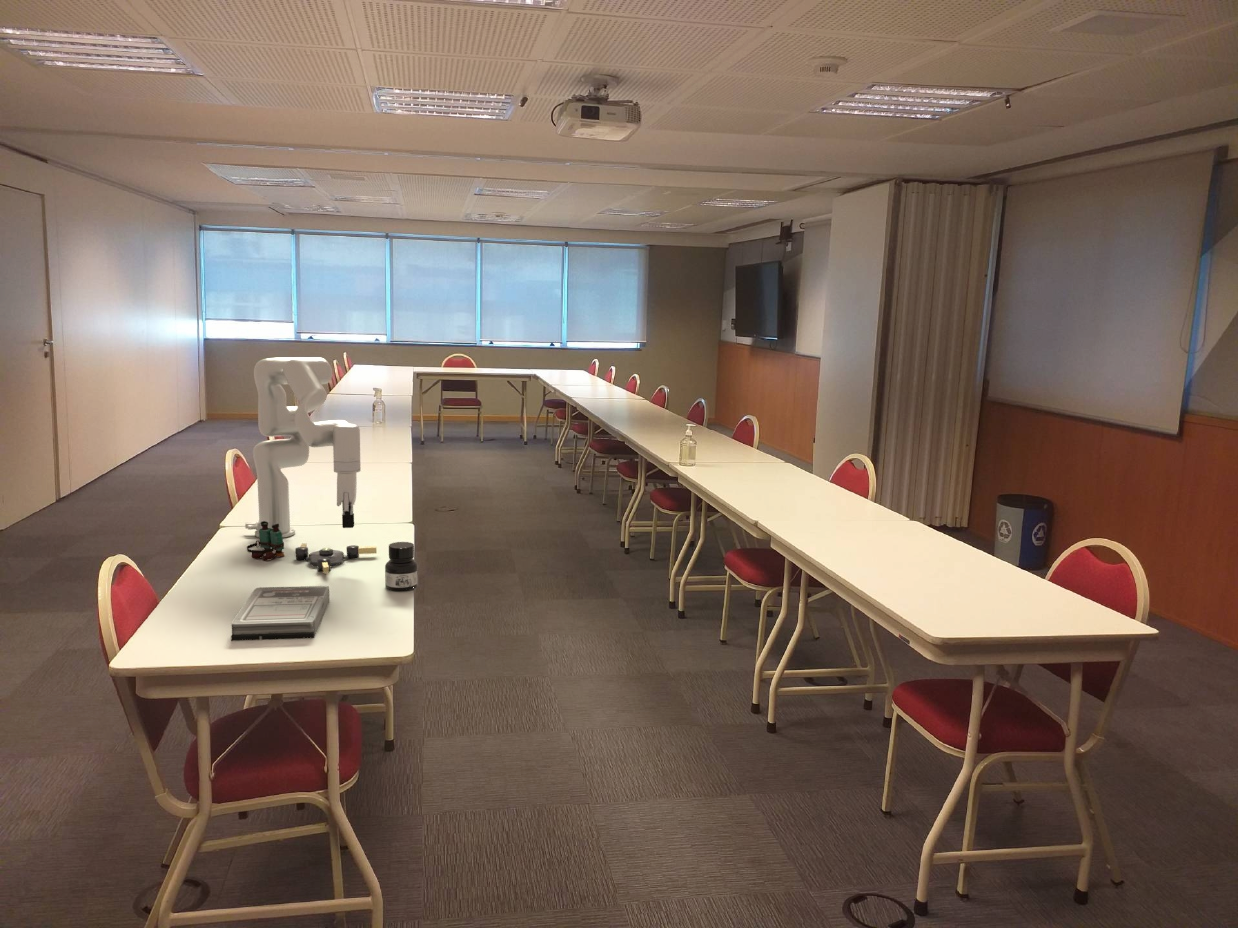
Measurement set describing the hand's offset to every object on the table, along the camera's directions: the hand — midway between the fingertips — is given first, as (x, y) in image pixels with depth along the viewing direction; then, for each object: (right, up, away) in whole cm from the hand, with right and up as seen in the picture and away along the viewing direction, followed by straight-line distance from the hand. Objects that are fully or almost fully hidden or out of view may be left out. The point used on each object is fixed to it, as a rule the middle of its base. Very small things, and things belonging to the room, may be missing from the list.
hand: (348, 527), depth 265 cm
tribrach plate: (-8, -11, +4) cm, 14 cm away
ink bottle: (+20, -16, -16) cm, 30 cm away
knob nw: (-17, -10, +9) cm, 21 cm away
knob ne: (+1, -10, +10) cm, 15 cm away
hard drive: (-3, -20, -44) cm, 48 cm away
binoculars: (-27, -10, +7) cm, 30 cm away
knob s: (-5, -13, -6) cm, 15 cm away
